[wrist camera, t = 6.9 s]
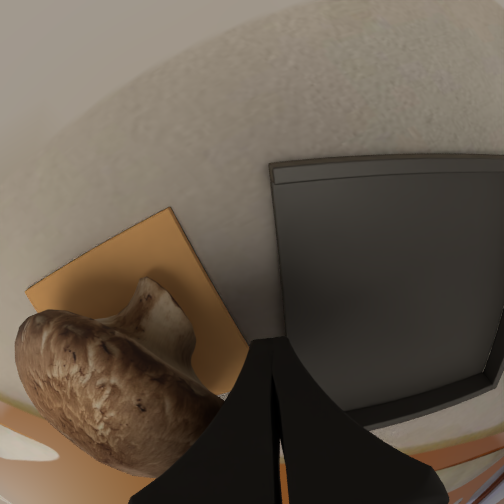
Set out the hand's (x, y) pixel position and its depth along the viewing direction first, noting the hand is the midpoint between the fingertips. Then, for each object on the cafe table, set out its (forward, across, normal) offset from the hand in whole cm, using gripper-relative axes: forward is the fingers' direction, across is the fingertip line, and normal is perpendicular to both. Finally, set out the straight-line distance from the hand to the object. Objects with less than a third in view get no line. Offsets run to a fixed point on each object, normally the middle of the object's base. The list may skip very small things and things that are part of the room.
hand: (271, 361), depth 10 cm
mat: (+2, +5, 0) cm, 6 cm away
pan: (+2, -7, 0) cm, 8 cm away
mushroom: (+2, +5, 0) cm, 5 cm away
